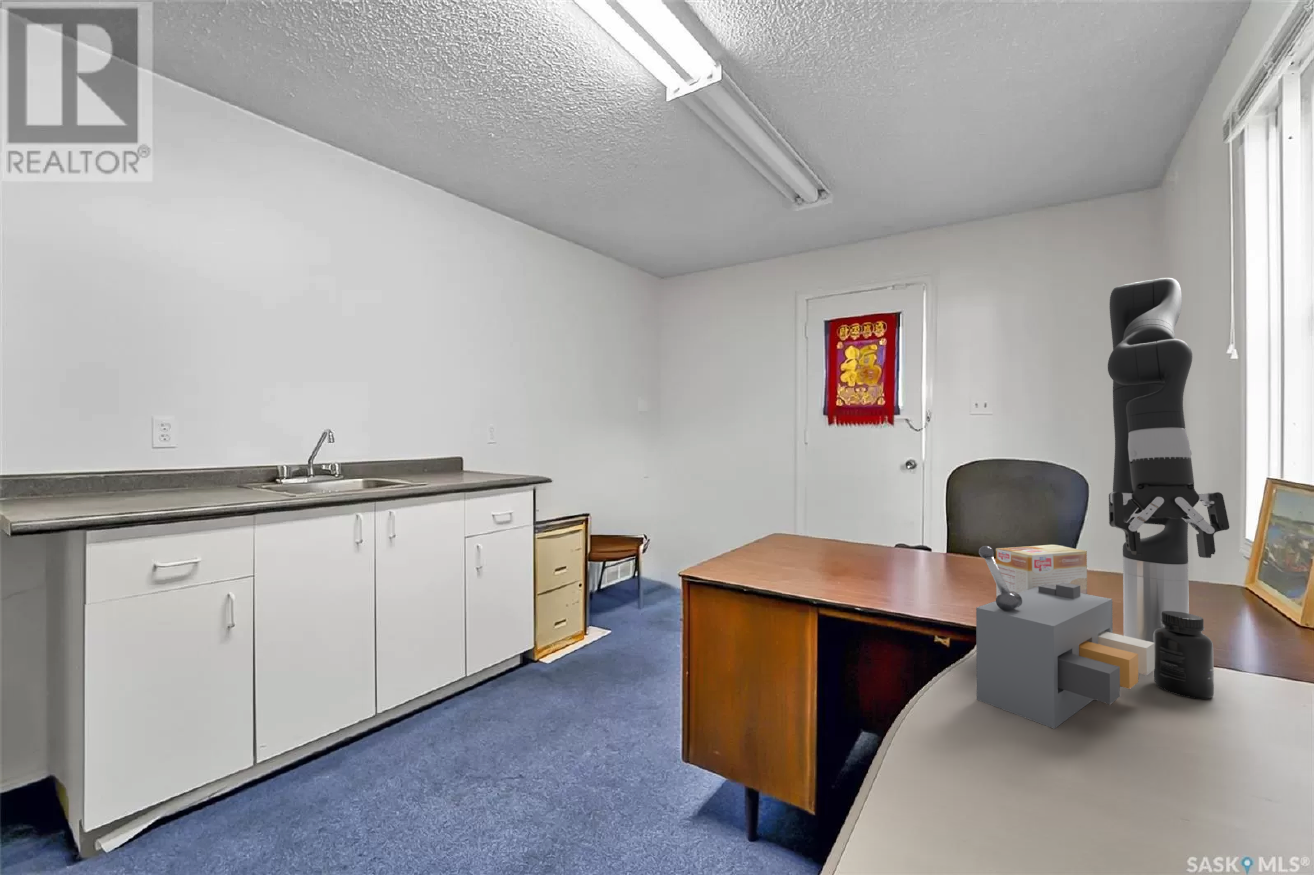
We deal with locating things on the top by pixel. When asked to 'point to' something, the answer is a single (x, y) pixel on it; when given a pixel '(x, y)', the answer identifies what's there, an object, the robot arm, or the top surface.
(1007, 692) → the grey dispenser housing
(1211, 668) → the supplement bottle
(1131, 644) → the cream button
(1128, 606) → the robot arm
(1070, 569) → the coffeecake box
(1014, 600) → the toggle lever
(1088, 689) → the black button
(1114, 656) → the orange button
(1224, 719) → the top surface
